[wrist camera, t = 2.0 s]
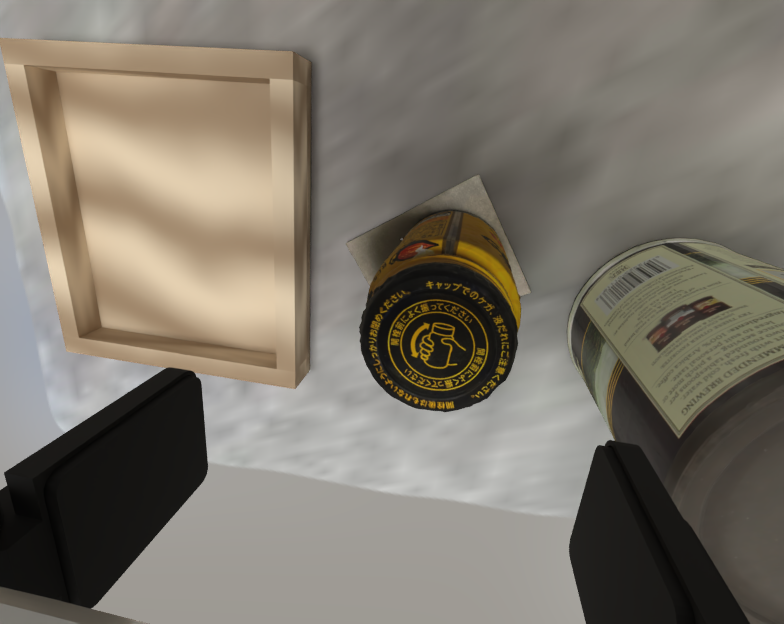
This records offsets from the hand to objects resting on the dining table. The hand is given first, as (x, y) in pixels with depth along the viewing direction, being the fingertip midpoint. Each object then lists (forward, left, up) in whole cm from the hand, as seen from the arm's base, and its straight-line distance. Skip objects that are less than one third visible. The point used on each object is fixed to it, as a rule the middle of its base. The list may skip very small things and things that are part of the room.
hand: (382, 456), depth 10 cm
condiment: (-1, 0, -17) cm, 17 cm away
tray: (-2, -16, -16) cm, 23 cm away
